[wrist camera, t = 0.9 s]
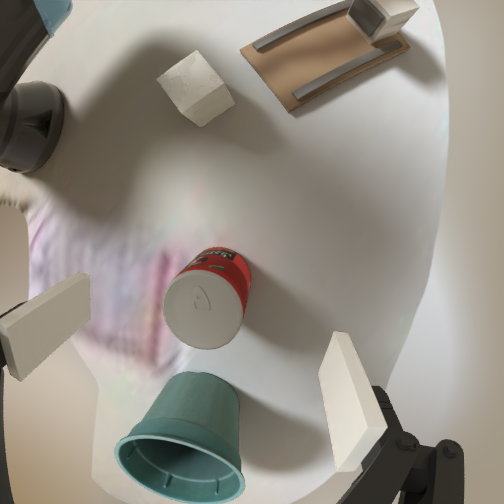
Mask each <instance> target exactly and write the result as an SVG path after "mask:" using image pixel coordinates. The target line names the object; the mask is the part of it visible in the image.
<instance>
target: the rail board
mask: <svg viewBox="0 0 504 504" xmlns="http://www.w3.org/2000/svg"><path fill="white" fill-rule="evenodd" d="M419 8H420V7H419V6H418V4H417V3H416V2H415V1H414V0H345V1H342V2H339V3H337V4H334V5H331V6H329V7H326V8H324V9H321V10H319V11H316V12H314V13H312V14H309V15H307V16H305V17H302V18H300V19H298V20H296V21H294V22H292V23H289V24H287V25H285V26H283V27H281V28H279V29H277V30H275V31H273V32H271V33H269V34H267V35H265V36H264V37H262V38H260V39H258V40H256V41H254V42H253V43H251V44H249V45H247V46H245V47H244V48H242V49H240V52H241V54H242V55H243V56H244V58H245V59H246V60H247V61H248V62H249V64H250V65H251V66H252V67H253V68H254V70H255V71H256V72H257V73H258V74H259V76H260V77H261V78H262V79H263V81H264V82H265V83H266V84H267V86H268V87H269V88H270V89H271V91H272V92H273V93H274V94H275V96H276V97H277V98H278V100H279V101H280V102H281V104H282V105H283V106H284V108H285V109H286V110H287V112H288V113H289V112H290V111H292V110H294V109H295V108H297V107H299V106H300V105H302V104H304V103H305V102H307V101H309V100H311V99H312V98H314V97H316V96H318V95H319V94H321V93H323V92H325V91H327V90H328V89H330V88H332V87H334V86H336V85H338V84H339V83H341V82H343V81H345V80H347V79H349V78H351V77H353V76H355V75H357V74H359V73H360V72H362V71H364V70H366V69H368V68H370V67H373V66H375V65H377V64H379V63H381V62H383V61H385V60H387V59H389V58H391V57H394V56H396V55H398V54H400V53H403V52H405V51H407V50H408V49H409V48H410V46H409V45H408V44H407V42H406V41H405V40H404V39H403V37H402V36H401V35H400V34H399V30H400V29H401V28H402V27H403V26H404V25H405V23H406V22H407V21H408V20H409V19H410V18H411V17H412V16H413V14H414V13H415V12H416V11H417V10H418V9H419Z"/></svg>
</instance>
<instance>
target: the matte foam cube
mask: <svg viewBox="0 0 504 504" xmlns="http://www.w3.org/2000/svg"><path fill="white" fill-rule="evenodd" d="M156 80H157V81H158V82H159V84H160V85H161V86H162V88H163V89H164V91H165V92H166V93H167V95H168V96H169V98H170V99H171V100H172V102H173V103H174V104H175V106H176V107H177V109H178V110H179V111H180V113H181V114H183V115H184V116H185V117H187V118H188V119H190V120H191V121H193V122H194V123H195V124H197V125H198V126H200V127H203V126H204V125H205V124H207V123H208V122H210V121H211V120H212V119H214V118H215V117H217V116H218V115H220V114H221V113H223V112H224V111H226V110H227V109H228V108H230V107H231V106H233V105H235V102H234V100H233V99H232V97H231V95H230V93H229V91H228V89H227V87H226V85H225V83H224V82H223V81H222V79H221V78H220V77H219V76H218V74H217V73H216V72H215V71H214V70H213V68H212V67H211V66H210V65H209V63H208V62H207V61H206V60H205V59H204V57H203V56H202V55H201V54H200V53H199V51H198V50H196V51H194V52H193V53H191V54H190V55H188V56H187V57H185V58H184V59H182V60H181V61H179V62H178V63H177V64H175V65H174V66H173V67H171V68H170V69H168V70H167V71H166V72H164V73H163V74H162V75H161V76H159V77H158V78H157V79H156Z"/></svg>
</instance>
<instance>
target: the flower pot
mask: <svg viewBox="0 0 504 504" xmlns="http://www.w3.org/2000/svg"><path fill="white" fill-rule="evenodd" d="M114 452H115V458H116V460H117V462H118V464H119V466H120V467H121V469H122V470H123V471H124V472H125V473H126V474H127V475H128V476H129V477H130V478H131V479H133V480H134V481H135V482H137V483H138V484H139V485H141V486H142V487H144V488H146V489H147V490H149V491H151V492H153V493H156V494H158V495H160V496H163V497H165V498H168V499H171V500H175V501H179V502H183V503H189V504H221V503H226V502H229V501H232V500H234V499H236V498H237V497H239V496H240V495H241V494H242V493H243V491H244V489H245V480H244V476H243V474H242V473H241V458H240V455H239V401H238V397H237V394H236V393H235V391H234V390H233V389H232V387H231V386H229V385H228V384H227V383H226V382H225V381H223V380H222V379H220V378H218V377H216V376H214V375H211V374H208V373H204V372H201V373H191V372H183V373H179V374H177V375H175V376H174V377H172V378H171V379H170V380H169V381H168V382H167V384H166V385H165V387H164V388H163V390H162V391H161V393H160V394H159V396H158V397H157V399H156V400H155V402H154V403H153V405H152V406H151V408H150V409H149V411H148V412H147V413H146V415H145V416H144V418H143V419H142V421H141V422H140V423H138V424H137V425H136V426H135V427H134V428H133V429H132V430H131V432H130V433H129V435H128V436H127V437H124V438H123V439H121V440H120V441H119V442H118V443H117V444H116V446H115V451H114Z"/></svg>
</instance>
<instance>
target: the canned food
mask: <svg viewBox="0 0 504 504" xmlns="http://www.w3.org/2000/svg"><path fill="white" fill-rule="evenodd" d="M250 284H251V275H250V271H249V268H248V266H247V264H246V262H245V261H244V260H243V258H242V257H241V256H240V255H239V254H237V253H236V252H234V251H232V250H230V249H228V248H223V247H213V248H209V249H207V250H204V251H203V252H201V253H200V254H199V255H198V256H197V257H196V258H195V259H194V260H192V261H191V262H190V263H189V264H188V265H187V266H186V267H185V268H184V269H183V270H182V271H181V272H180V273H179V274H178V275H177V276H176V277H175V278H174V279H173V280H172V282H171V283H170V284H169V286H168V287H167V289H166V291H165V293H164V297H163V303H162V309H163V315H164V318H165V321H166V323H167V325H168V327H169V329H170V330H171V331H172V333H173V334H174V335H175V336H176V337H177V338H178V339H179V340H181V341H182V342H184V343H185V344H187V345H189V346H192V347H194V348H198V349H207V350H209V349H216V348H219V347H222V346H224V345H226V344H228V343H229V342H230V341H231V340H232V339H233V338H234V337H235V336H236V334H237V333H238V331H239V329H240V326H241V324H242V320H243V317H244V312H245V308H246V303H247V299H248V294H249V290H250Z"/></svg>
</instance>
